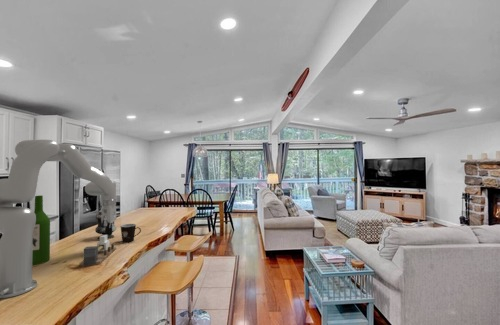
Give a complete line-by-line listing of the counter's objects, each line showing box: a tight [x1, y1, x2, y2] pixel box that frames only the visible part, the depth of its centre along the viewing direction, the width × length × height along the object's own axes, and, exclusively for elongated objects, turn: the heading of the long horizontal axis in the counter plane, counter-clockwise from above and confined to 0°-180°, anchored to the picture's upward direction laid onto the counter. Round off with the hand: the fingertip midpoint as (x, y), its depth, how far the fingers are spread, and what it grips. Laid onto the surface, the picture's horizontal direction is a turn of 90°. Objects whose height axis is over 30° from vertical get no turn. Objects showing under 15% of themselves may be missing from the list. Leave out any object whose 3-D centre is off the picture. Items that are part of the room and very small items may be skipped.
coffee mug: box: [120, 223, 142, 244], centre depth 153 cm, size 12×9×10 cm
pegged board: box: [78, 243, 117, 267], centre depth 128 cm, size 22×9×8 cm, turn 11°
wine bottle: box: [32, 195, 51, 266], centre depth 121 cm, size 9×9×32 cm
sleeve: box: [96, 234, 111, 251], centre depth 133 cm, size 5×4×8 cm
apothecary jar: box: [94, 209, 117, 241], centre depth 162 cm, size 12×12×18 cm
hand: (108, 234), depth 140 cm, fingers closed
